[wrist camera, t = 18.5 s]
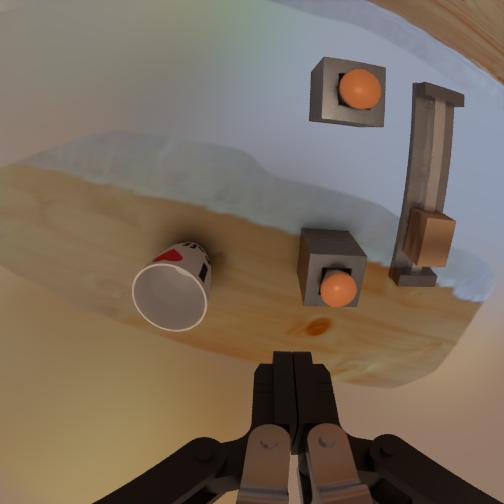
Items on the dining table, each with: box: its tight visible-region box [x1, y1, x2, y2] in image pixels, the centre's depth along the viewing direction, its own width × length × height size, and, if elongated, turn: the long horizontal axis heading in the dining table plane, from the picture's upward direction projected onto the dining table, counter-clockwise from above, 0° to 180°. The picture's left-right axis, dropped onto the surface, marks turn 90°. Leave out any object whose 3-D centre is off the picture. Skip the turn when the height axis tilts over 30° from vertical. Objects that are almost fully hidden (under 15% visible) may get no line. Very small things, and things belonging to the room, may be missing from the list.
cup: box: [132, 242, 211, 331], centre depth 35 cm, size 8×8×10 cm
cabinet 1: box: [309, 57, 386, 127], centre depth 27 cm, size 6×6×8 cm
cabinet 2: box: [297, 228, 367, 307], centre depth 34 cm, size 6×6×8 cm
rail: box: [389, 82, 464, 287], centre depth 32 cm, size 26×6×3 cm, turn 178°
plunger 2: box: [338, 69, 381, 109], centre depth 24 cm, size 4×4×4 cm
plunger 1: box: [320, 267, 357, 307], centre depth 31 cm, size 4×4×4 cm
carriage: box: [403, 208, 456, 267], centre depth 33 cm, size 6×4×4 cm
